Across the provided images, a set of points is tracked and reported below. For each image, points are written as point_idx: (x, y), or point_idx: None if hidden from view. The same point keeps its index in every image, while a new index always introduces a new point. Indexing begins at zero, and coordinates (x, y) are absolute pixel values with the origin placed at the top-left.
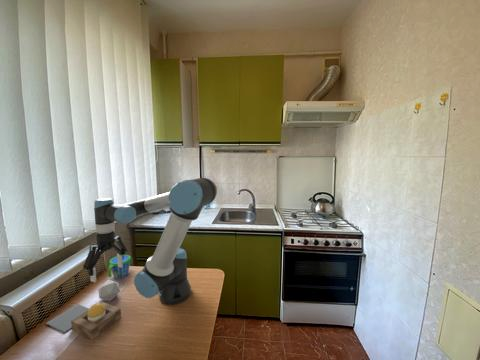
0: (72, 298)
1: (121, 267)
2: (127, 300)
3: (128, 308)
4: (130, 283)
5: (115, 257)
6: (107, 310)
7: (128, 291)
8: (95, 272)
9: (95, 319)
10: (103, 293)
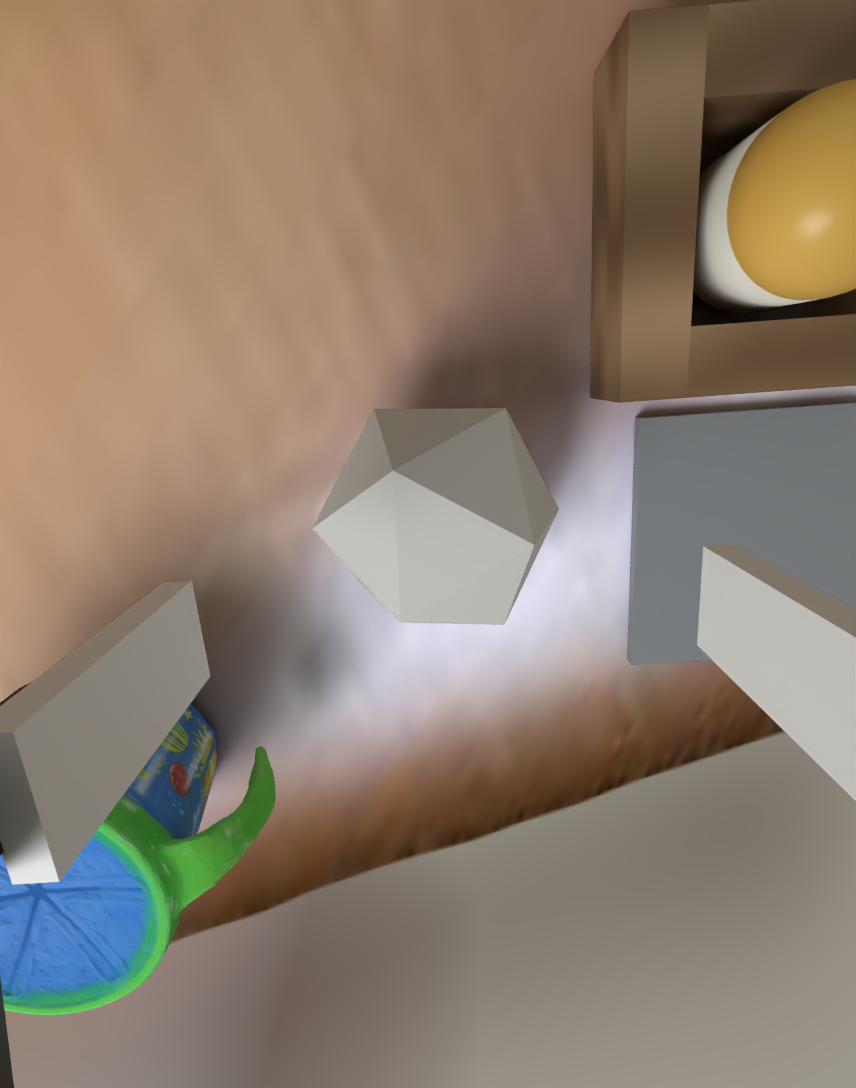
0: (584, 783)
1: (190, 585)
2: (379, 276)
3: (463, 130)
4: (176, 527)
5: (43, 998)
6: (694, 173)
7: (275, 415)
8: (827, 615)
9: None
10: (537, 488)
